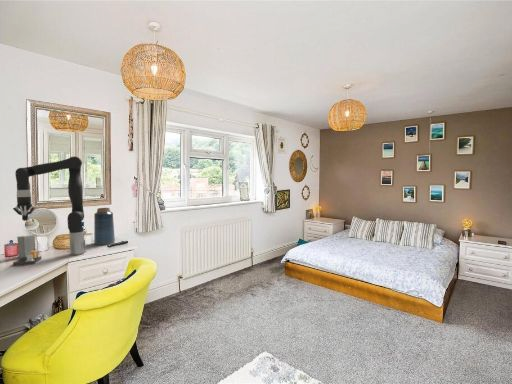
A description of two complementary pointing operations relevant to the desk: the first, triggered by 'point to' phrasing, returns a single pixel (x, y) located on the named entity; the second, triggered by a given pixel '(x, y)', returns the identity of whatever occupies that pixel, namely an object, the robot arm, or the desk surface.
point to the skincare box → (25, 245)
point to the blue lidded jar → (103, 227)
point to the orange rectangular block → (34, 254)
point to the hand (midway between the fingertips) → (25, 220)
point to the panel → (28, 259)
